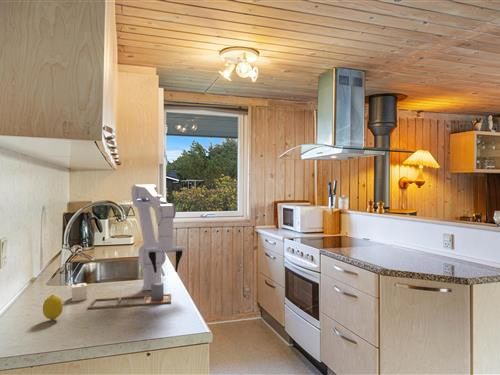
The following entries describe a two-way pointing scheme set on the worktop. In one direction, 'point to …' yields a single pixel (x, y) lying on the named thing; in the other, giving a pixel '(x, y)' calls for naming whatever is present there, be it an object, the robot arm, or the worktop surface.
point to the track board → (148, 302)
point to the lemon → (52, 307)
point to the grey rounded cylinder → (157, 291)
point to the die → (79, 291)
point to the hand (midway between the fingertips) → (165, 271)
